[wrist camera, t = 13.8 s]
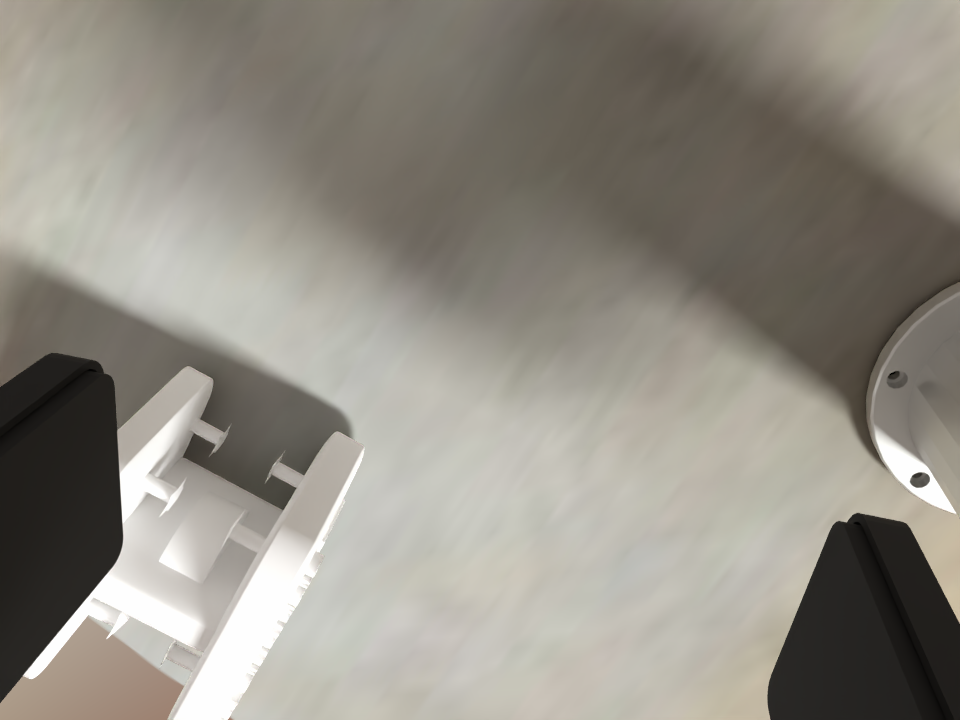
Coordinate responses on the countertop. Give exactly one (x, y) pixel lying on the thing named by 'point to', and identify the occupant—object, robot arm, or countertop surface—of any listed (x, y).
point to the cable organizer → (209, 548)
